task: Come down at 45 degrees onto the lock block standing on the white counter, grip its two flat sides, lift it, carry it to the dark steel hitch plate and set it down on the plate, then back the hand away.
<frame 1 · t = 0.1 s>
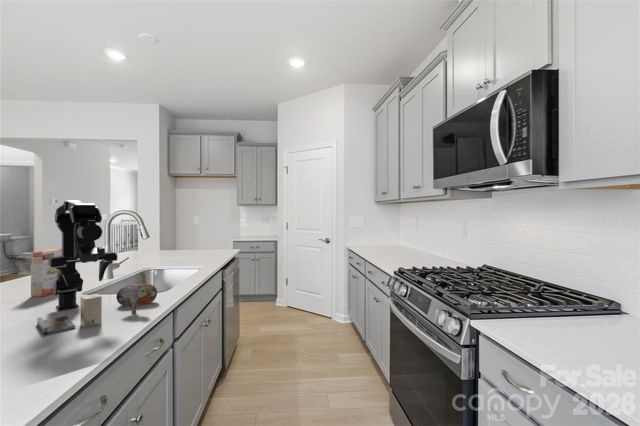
hand: (84, 283, 109), 15 cm above the countertop, tool pointing down, fingers open, 9 cm apart
cracker box: (50, 293, 148), on the countertop
tin: (137, 304, 133), on the countertop
grey t-shaped piece: (133, 313, 122), on the countertop
lock block: (91, 324, 109), on the countertop
hitch plate: (55, 326, 107), on the countertop
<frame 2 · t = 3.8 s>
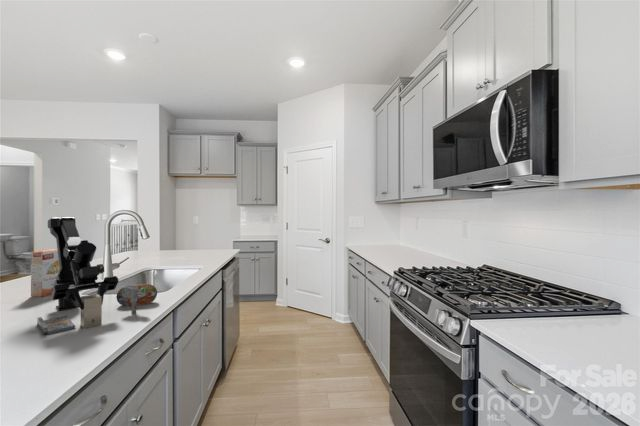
hand: (92, 306, 108), 7 cm above the countertop, tool tilted 45°, fingers closed on lock block, 5 cm apart
lock block: (91, 324, 109), on the countertop, touching gripper
everything else where it was.
when the fingers open (9 cm above the countertop, at t = 7.9 s): lock block stays where it is, point 2 cm above the countertop.
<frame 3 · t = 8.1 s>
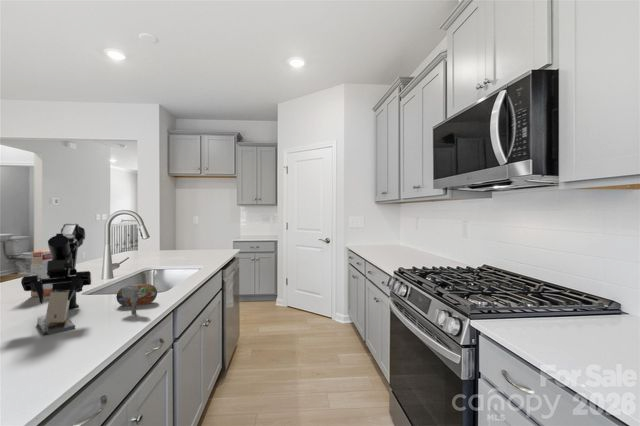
hand: (55, 301, 106), 9 cm above the countertop, tool tilted 45°, fingers open, 7 cm apart
lock block: (56, 321, 107), point 2 cm above the countertop, tilted 11°, touching gripper
everything else where it was.
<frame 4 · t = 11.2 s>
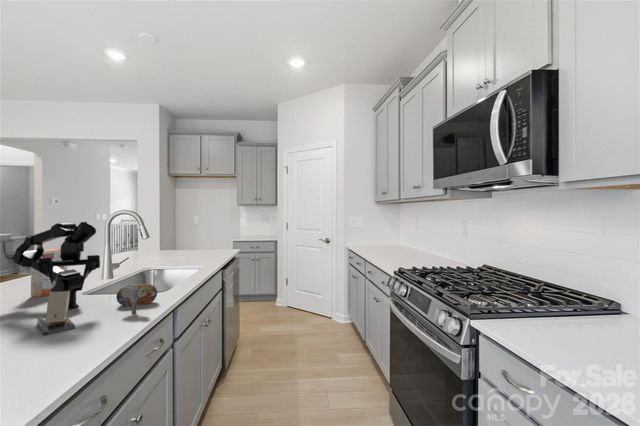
hand: (68, 281, 115), 14 cm above the countertop, tool tilted 45°, fingers open, 9 cm apart
lock block: (56, 321, 107), point 2 cm above the countertop, tilted 13°, touching hitch plate
everything else where it was.
at the end: lock block inside the target area on the hitch plate (0.2 cm from its centre), point 1.7 cm above the hitch plate's base; the gripper is holding nothing; lock block tilted 13° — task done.
